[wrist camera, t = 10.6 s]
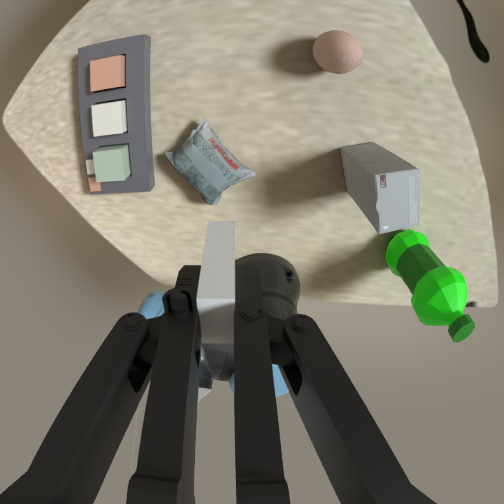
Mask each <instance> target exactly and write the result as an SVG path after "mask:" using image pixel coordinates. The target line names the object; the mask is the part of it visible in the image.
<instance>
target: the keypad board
mask: <svg viewBox="0 0 504 504" xmlns="http://www.w3.org/2000/svg"><path fill="white" fill-rule="evenodd" d="M150 40H151V37H149V36H147V35H138V36H132V37H126V38H121V39H116V40H111V41H106V42H102V43H98V44H93V45H89V46H86V47H82V48H78V95H79V113H80V125H81V136H82V145H83V153H84V161H85V168H86V175H87V181H88V187H89V193H90V194H105V193H123V192H147V191H151V190H152V188H153V187H154V185H155V180H154V167H153V153H152V137H151V113H150ZM117 55H123V56H126V88H121V89H115V90H109V91H103V92H102V90H98V91H92V92H91V86H90V61H93V60H98V59H102V58H107V57H112V56H117ZM123 98H126V102H127V123H128V130H127V131H126V132H124V133H120V134H111V135H103V136H95V137H94V134H93V123H92V108H91V106H93V105H97V104H101V103H102V102H103V101H110V100H116V99H123ZM124 143H129V151H130V162H131V172H132V173H131V174H130V175H129V176H128V177H127V178H126V179H125V180H124V181H108V182H96V175H95V168H94V160H93V152H94V151H95V150H97V149H99V148H100V147H102V146H106V145H114V144H124Z"/></svg>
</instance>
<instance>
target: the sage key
mask: <svg viewBox="0 0 504 504" xmlns="http://www.w3.org/2000/svg"><path fill="white" fill-rule="evenodd" d="M93 160H94V168H95V175H96V182H108V181H124V180H125V179H126V178H127V177H128V176H129V175H130V174H131V173H132V172H131V162H130V151H129V143H126V144H116V145H107V146H102V147H100V148H99V149H97V150H95V151H94V152H93Z"/></svg>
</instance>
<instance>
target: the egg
mask: <svg viewBox="0 0 504 504" xmlns="http://www.w3.org/2000/svg"><path fill="white" fill-rule="evenodd" d="M313 56H314V59H315V61H316V62H317V63H318V64H319V66H320V67H322V68H323V69H324V70H326V71H329V72H331V73H336V74H342V73H347V72H350V71H352V70H354V69H355V68H356V67H357V66H358V65H359V63H360V62H361V59H362V48H361V46H360V44H359V42H358V41H357V40H356V39H355V37H353V36H352V35H351V34H349V33H347V32H344V31H339V30H332V31H328V32H325V33H323V34H321V35H320V36H319V37H318V38H317V39H316V40H315V42H314V45H313Z"/></svg>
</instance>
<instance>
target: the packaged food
mask: <svg viewBox="0 0 504 504" xmlns="http://www.w3.org/2000/svg"><path fill="white" fill-rule="evenodd" d="M194 131H195V132H194ZM165 156H166V157H167V159H168V160H169V162H170V163H171V164H172V165H173V166H174V168H175V169H176V170H177V171H178V172H179V173H180V174H181V175H182V176H183V177H184V178H185V179H186V180H187V181H188V182H190V184H191V185H192V186H193V187H194V188H195V189H196V191H198V192H199V193H200V194H201V196H202V198H203V199H204V201H205V202H206V203H207V204H210V205H213V204H214V205H216V204H217V203H218V202H219V200H220V197H221V193H222V191H224V190H225V189H227V188H228V187H230V186H231V185H233V184H236V183H238V182H240V181H243V180H245V179H248V178H250V177H253V176H256V173H255V171H254V170H252V169H250V168H248V167H246V166H245V165H242V164H241V163H240V162H239V161H238V160H237V158H236V157H235V156H234V155H233V154H232V153H231V152H230V151H229V150H228V149H227V148H225V147H224V146H222V145H221V141H220V139H219V137H218V136H217V135H216V134H215V133H214V131H213V130H212V129H211V127H210V125H209V123H208V119H207V117H205V118H204V119H203V121H202V122H201V124H200V125H199V126H198V127H197V129H196V130H195V129H193V130H192V131H191V133H190V135H189V137H188V138H187V139H186V141H185V142H184V143H183V144H182V146H181V147H180V148H179V149H178V150H177V151H176V152H174V151H170V152H166V153H165Z"/></svg>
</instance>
